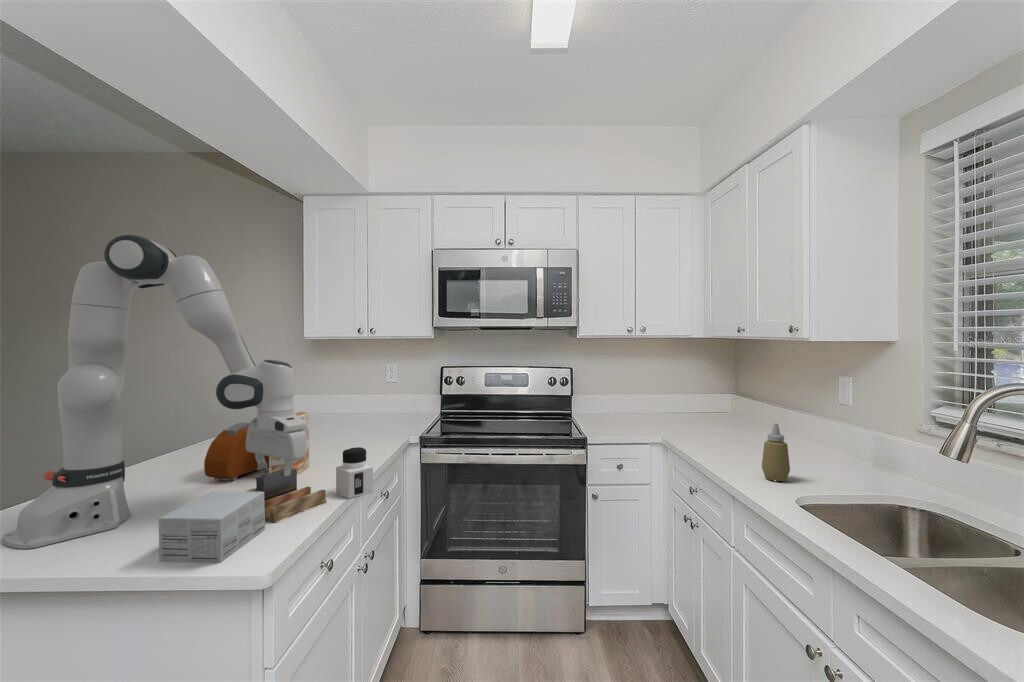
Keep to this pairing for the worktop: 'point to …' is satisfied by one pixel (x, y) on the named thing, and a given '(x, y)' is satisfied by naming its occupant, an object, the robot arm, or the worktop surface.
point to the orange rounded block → (230, 454)
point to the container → (354, 474)
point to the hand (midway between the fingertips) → (273, 472)
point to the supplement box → (211, 527)
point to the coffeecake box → (301, 464)
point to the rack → (291, 503)
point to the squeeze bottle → (775, 456)
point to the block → (276, 484)
